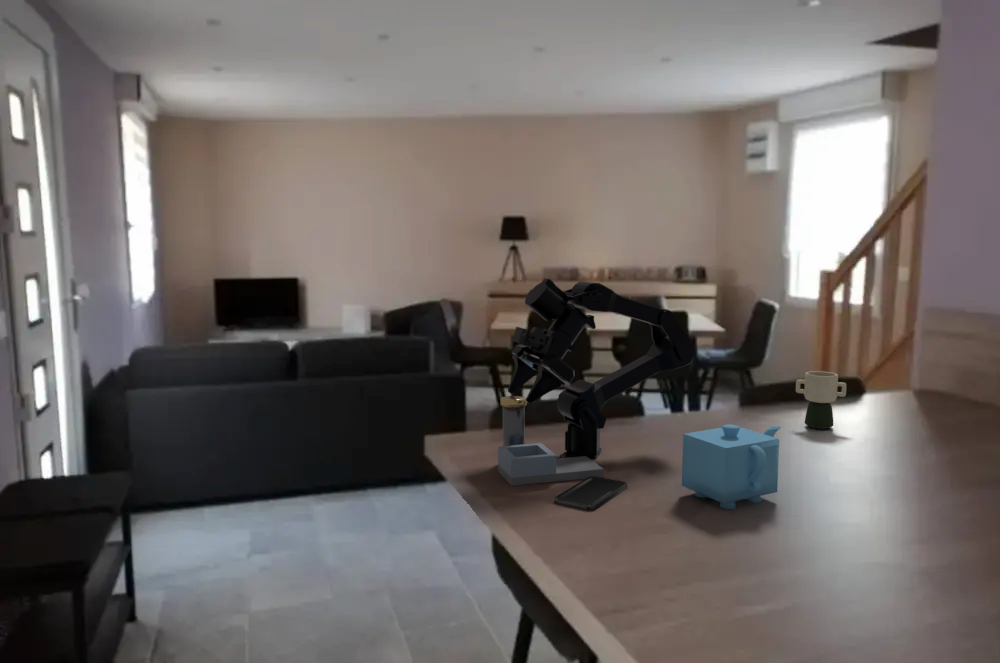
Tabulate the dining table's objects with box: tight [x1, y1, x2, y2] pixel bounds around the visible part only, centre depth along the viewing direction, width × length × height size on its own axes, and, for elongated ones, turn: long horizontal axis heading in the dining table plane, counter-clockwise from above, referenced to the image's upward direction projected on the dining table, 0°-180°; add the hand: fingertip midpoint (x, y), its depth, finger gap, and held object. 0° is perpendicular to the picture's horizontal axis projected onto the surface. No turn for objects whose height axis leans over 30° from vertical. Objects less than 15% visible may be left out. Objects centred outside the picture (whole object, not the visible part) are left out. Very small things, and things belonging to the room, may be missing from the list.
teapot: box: [681, 423, 782, 510], centre depth 135 cm, size 18×16×13 cm
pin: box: [500, 395, 528, 446], centre depth 154 cm, size 5×5×13 cm
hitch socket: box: [497, 442, 605, 487], centre depth 148 cm, size 18×9×5 cm, turn 106°
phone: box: [554, 476, 628, 512], centre depth 136 cm, size 8×1×15 cm
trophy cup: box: [795, 370, 847, 429], centre depth 180 cm, size 11×7×13 cm, turn 65°
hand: (518, 397), depth 154 cm, fingers open, 9 cm apart
